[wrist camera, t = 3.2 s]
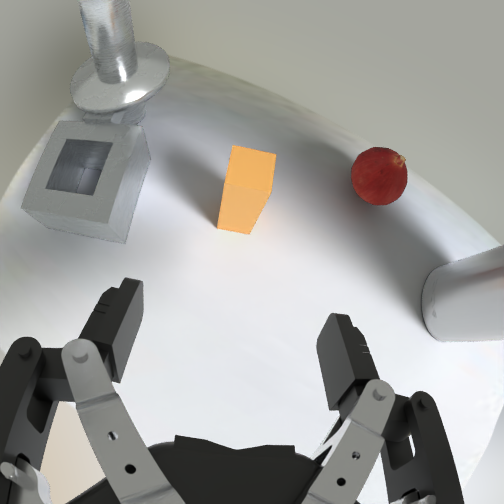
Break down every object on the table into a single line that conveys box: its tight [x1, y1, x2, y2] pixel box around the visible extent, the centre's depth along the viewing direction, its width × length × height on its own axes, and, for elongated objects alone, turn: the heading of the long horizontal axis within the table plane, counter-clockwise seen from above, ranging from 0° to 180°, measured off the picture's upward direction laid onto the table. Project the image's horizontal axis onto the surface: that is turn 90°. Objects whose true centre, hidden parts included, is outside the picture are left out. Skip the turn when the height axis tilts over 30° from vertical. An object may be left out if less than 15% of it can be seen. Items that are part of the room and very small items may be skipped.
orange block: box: [217, 145, 276, 234], centre depth 23 cm, size 3×3×9 cm
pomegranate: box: [351, 147, 407, 205], centre depth 27 cm, size 6×6×8 cm
